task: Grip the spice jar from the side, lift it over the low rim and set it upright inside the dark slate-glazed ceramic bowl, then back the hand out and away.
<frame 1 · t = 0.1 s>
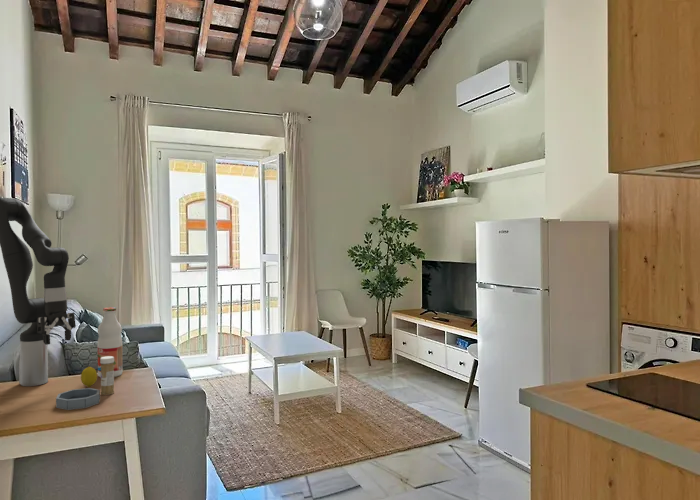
hand: (57, 342, 198), 17 cm above the table, tool pointing down, fingers open, 8 cm apart
bowl: (78, 403, 179), on the table
fruit juice: (110, 375, 216), on the table
lemon: (89, 387, 198), on the table
spice jar: (107, 394, 190), on the table
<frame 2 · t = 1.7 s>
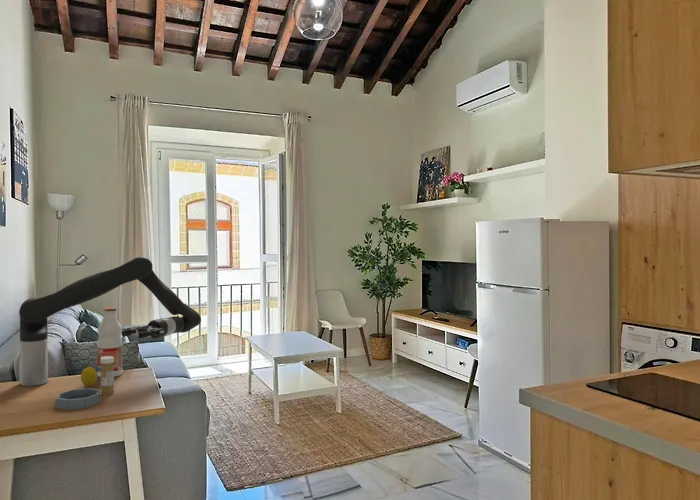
hand: (130, 334, 200), 20 cm above the table, tool horizontal, fingers open, 8 cm apart
nothing on the table moved.
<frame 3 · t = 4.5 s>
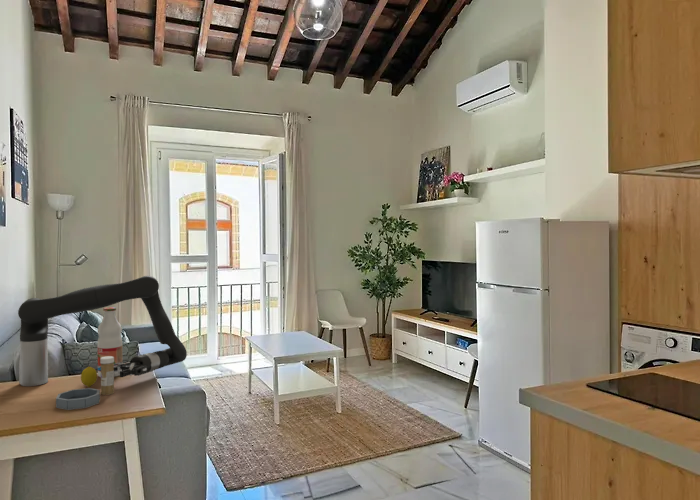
hand: (111, 373, 192), 7 cm above the table, tool horizontal, fingers open, 8 cm apart
nothing on the table moved.
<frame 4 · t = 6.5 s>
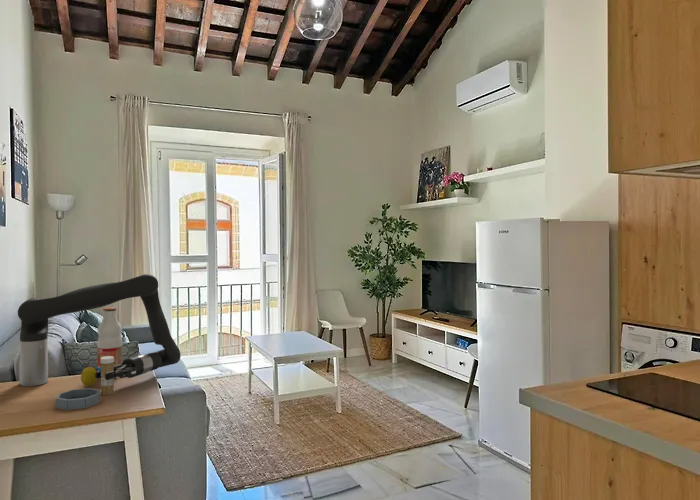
hand: (101, 376, 188), 7 cm above the table, tool horizontal, fingers closed on spice jar, 4 cm apart
spice jar: (107, 394, 190), on the table, touching gripper
everything else where it was.
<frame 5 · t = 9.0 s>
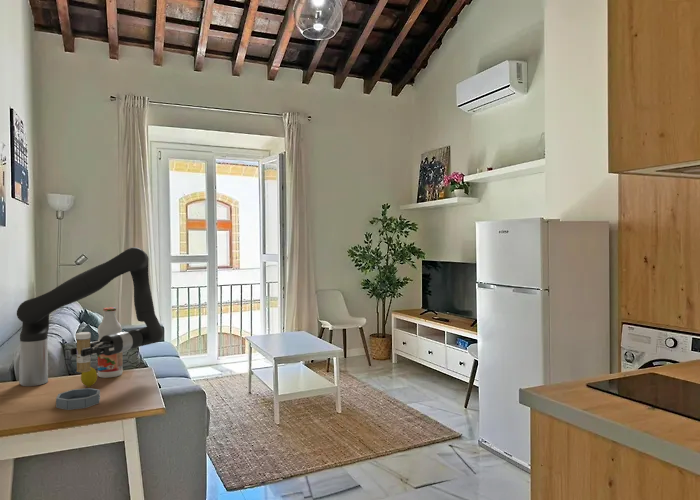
hand: (76, 352, 178), 18 cm above the table, tool horizontal, fingers closed on spice jar, 4 cm apart
spice jar: (83, 371, 181), point 10 cm above the table, touching gripper
everything else where it was.
when the fingers open (9 cm above the table, at t = 11.7 s): spice jar stays where it is, resting on bowl.
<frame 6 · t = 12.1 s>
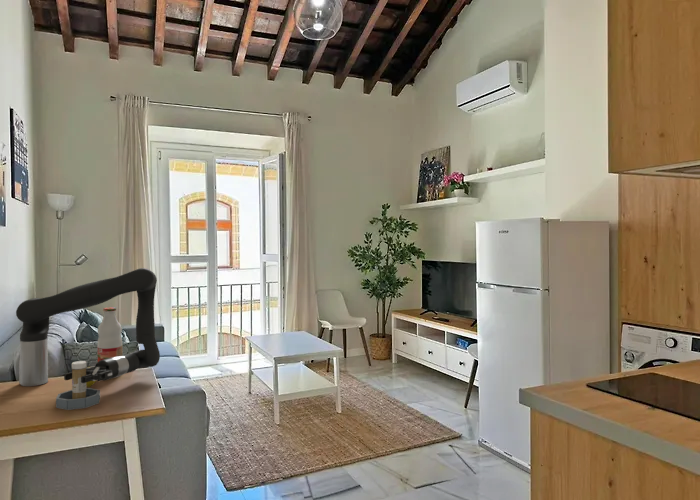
hand: (73, 378, 177), 9 cm above the table, tool horizontal, fingers open, 8 cm apart
spice jar: (79, 401, 179), point 1 cm above the table, touching bowl
everything else where it was.
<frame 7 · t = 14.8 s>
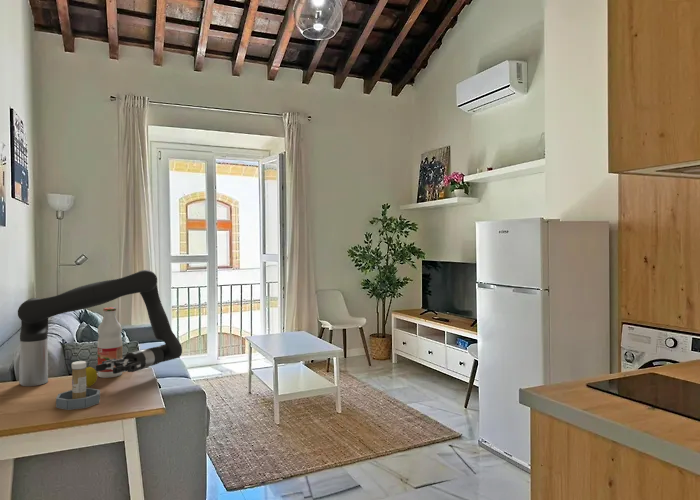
hand: (105, 369, 189), 9 cm above the table, tool horizontal, fingers open, 8 cm apart
nothing on the table moved.
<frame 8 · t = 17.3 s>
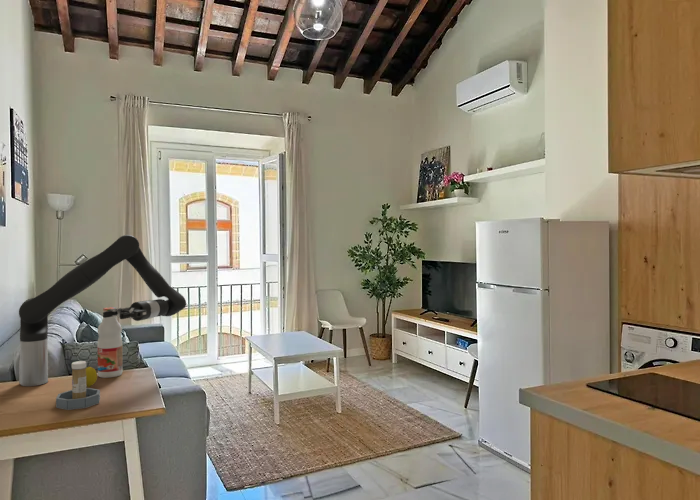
hand: (111, 315, 194), 28 cm above the table, tool horizontal, fingers open, 8 cm apart
nothing on the table moved.
at the end: spice jar 0.2 cm off-centre on the bowl, point 0.6 cm above the bowl's base; spice jar tilted 0°; the gripper is holding nothing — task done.
